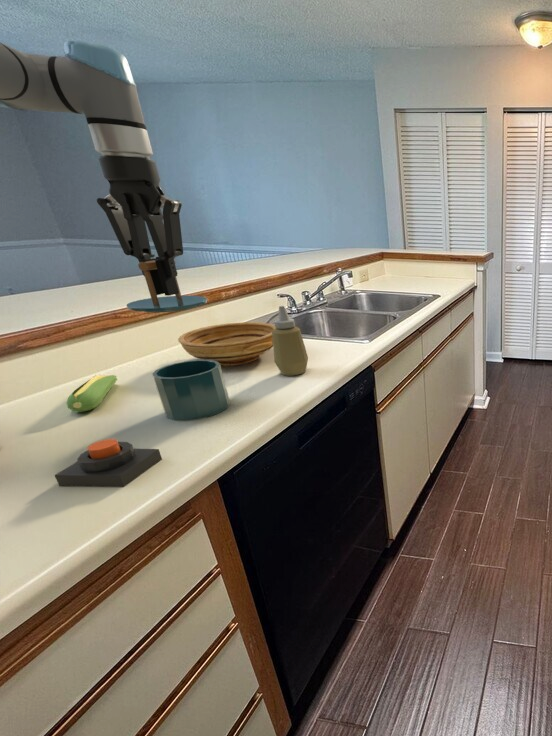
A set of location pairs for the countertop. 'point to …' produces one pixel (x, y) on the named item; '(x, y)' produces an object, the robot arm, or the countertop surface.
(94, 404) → the edible corn
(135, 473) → the block
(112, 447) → the button
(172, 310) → the lid
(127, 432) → the countertop surface
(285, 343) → the squeeze bottle
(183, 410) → the jar
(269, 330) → the wooden bowl
